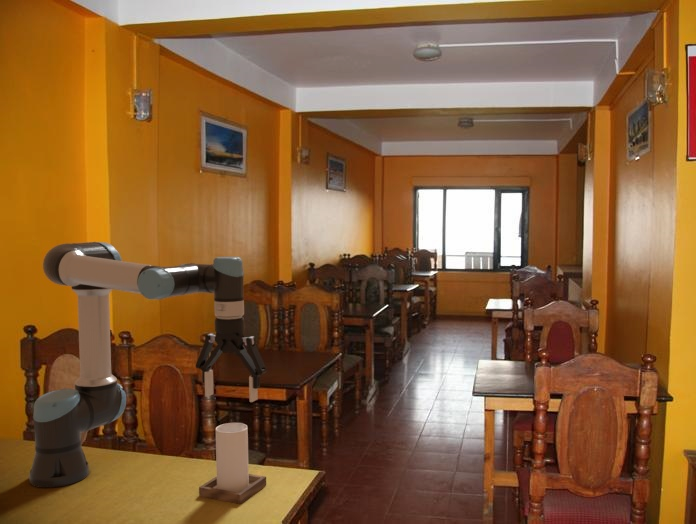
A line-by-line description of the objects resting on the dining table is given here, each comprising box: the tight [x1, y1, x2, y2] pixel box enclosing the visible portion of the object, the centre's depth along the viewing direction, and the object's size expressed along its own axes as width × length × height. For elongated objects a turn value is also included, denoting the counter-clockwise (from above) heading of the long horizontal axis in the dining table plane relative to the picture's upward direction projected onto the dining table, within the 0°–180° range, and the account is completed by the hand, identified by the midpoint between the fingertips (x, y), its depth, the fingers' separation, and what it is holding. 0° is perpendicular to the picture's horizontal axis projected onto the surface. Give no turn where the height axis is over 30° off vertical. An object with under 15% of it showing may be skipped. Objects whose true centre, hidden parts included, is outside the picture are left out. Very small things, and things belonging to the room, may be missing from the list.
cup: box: [215, 422, 250, 493], centre depth 171 cm, size 8×8×16 cm
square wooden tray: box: [198, 473, 267, 505], centre depth 171 cm, size 12×12×2 cm
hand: (231, 398), depth 170 cm, fingers open, 13 cm apart
